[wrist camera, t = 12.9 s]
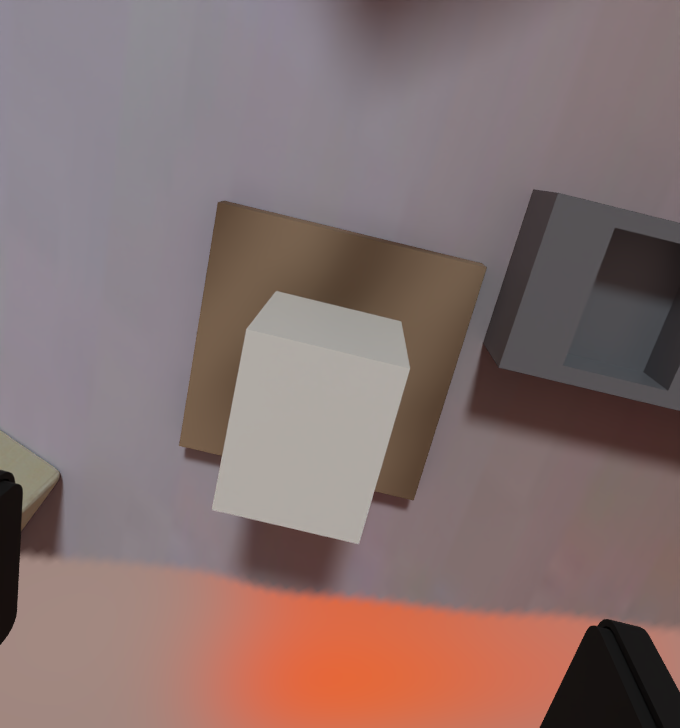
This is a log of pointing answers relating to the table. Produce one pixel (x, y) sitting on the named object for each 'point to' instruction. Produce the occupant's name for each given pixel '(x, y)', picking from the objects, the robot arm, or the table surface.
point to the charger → (311, 416)
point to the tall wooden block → (27, 474)
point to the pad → (337, 287)
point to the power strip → (592, 300)
